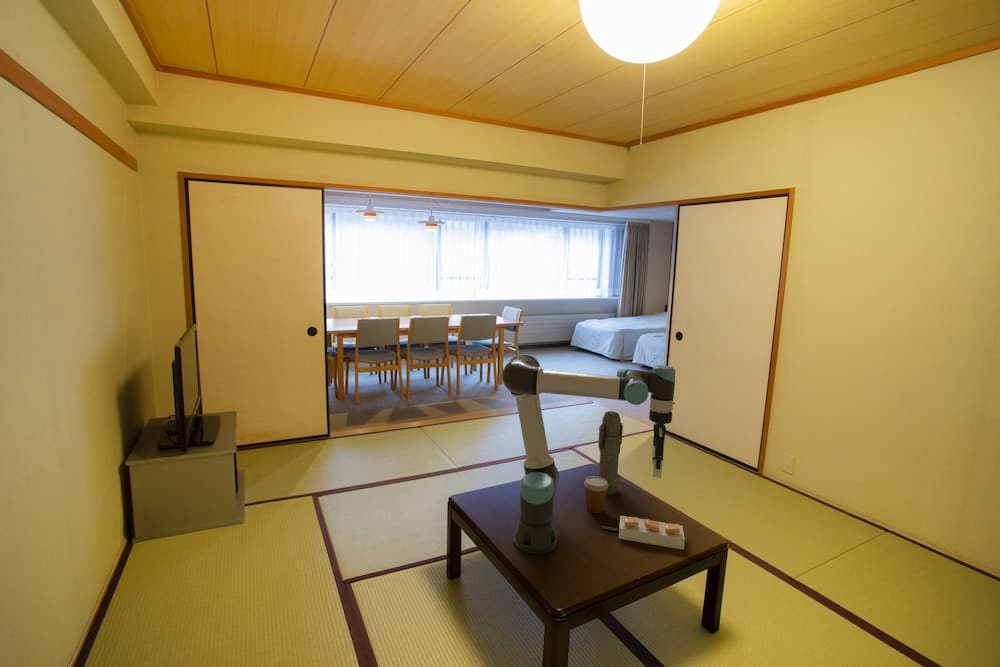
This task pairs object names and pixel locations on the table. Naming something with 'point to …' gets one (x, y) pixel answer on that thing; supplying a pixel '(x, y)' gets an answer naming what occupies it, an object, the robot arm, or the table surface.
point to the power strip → (650, 534)
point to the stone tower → (610, 449)
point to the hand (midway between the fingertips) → (656, 470)
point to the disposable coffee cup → (595, 493)
